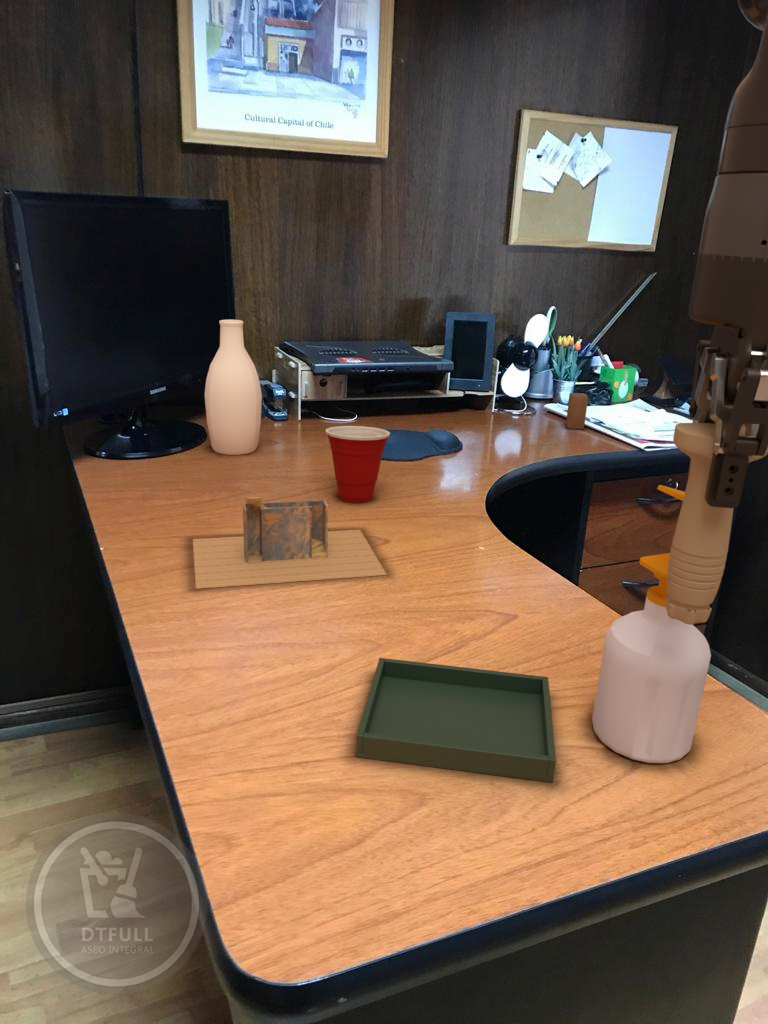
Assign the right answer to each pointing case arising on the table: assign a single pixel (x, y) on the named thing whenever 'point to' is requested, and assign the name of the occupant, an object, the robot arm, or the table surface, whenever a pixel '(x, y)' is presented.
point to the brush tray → (459, 720)
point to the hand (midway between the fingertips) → (711, 492)
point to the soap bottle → (651, 676)
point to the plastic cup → (356, 460)
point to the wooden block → (576, 410)
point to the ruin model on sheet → (283, 548)
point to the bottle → (233, 395)
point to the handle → (697, 532)
